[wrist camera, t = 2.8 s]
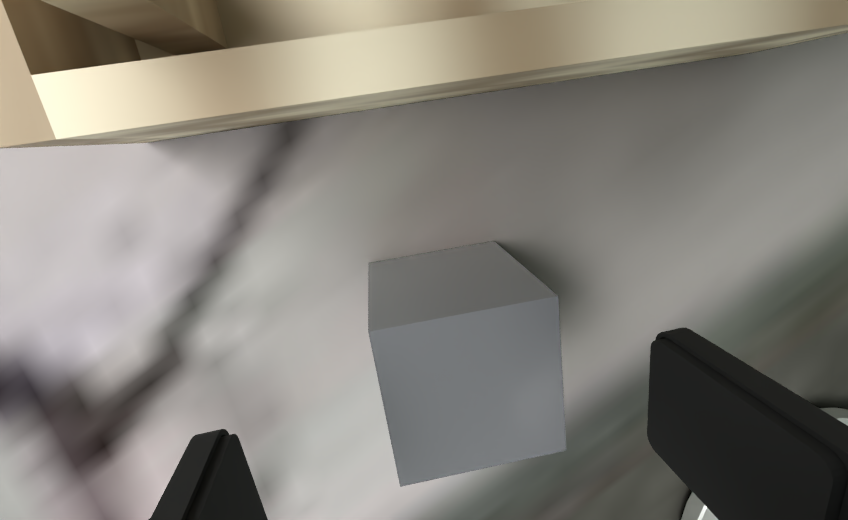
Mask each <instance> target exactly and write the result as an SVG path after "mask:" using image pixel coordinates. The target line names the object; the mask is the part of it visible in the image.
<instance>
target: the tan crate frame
mask: <svg viewBox="0 0 848 520" xmlns="http://www.w3.org/2000/svg"><path fill="white" fill-rule="evenodd" d="M843 33H848V0H0V148H21V147H48V146H74V145H100V144H127V143H147V142H154V141H161V140H168V139H174V138H181V137H188V136H195V135H201V134H208V133H215V132H222V131H228V130H235V129H242V128H249V127H255V126H262V125H269V124H276V123H282V122H289V121H296V120H303V119H309V118H316V117H323V116H330V115H336V114H343V113H350V112H356V111H363V110H370V109H377V108H383V107H390V106H397V105H404V104H410V103H417V102H424V101H431V100H437V99H444V98H451V97H458V96H464V95H471V94H478V93H485V92H491V91H498V90H505V89H512V88H518V87H525V86H532V85H539V84H545V83H552V82H559V81H566V80H572V79H579V78H586V77H592V76H599V75H606V74H613V73H619V72H626V71H633V70H640V69H646V68H653V67H660V66H667V65H673V64H680V63H687V62H694V61H700V60H707V59H714V58H721V57H727V56H734V55H741V54H748V53H754V52H758V51H763V50H768V49H772V48H777V47H782V46H787V45H791V44H796V43H801V42H805V41H810V40H815V39H819V38H824V37H829V36H834V35H838V34H843Z"/></svg>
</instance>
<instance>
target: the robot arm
mask: <svg viewBox="0 0 848 520" xmlns="http://www.w3.org/2000/svg"><path fill="white" fill-rule="evenodd" d="M647 436H648V440H649V442H650V444H651V446H652V448H653V449H654V450H655V452H656V453H657V454H658V455H659V456H660V457H661V458H662V459H663V460H664V461H665V462H666V464H667V465H668V466H669V467H670V468H671V469H672V470H673V471H674V472H675V473H676V474H677V475H678V477H679V478H680V479H681V480H682V481H683V482H684V483H685V484H686V485H687V486H688V487H689V488H690V490H691V491H692V493H691V495H690V497H689V499H688V501H687V503H686V506H685V509H684V512H683V515H682V518H681V520H848V409H841V408H818V407H816V406H815V405H813V404H811V403H810V402H808V401H806V400H805V399H803V398H801V397H800V396H798V395H797V394H795V393H793V392H792V391H790V390H788V389H787V388H785V387H783V386H782V385H780V384H779V383H777V382H775V381H774V380H772V379H770V378H769V377H767V376H765V375H764V374H762V373H760V372H759V371H757V370H756V369H754V368H752V367H751V366H749V365H747V364H746V363H744V362H742V361H741V360H739V359H738V358H736V357H734V356H733V355H731V354H729V353H728V352H726V351H724V350H723V349H721V348H719V347H718V346H716V345H715V344H713V343H711V342H710V341H708V340H706V339H705V338H703V337H701V336H700V335H698V334H697V333H695V332H693V331H692V330H690V329H687V328H679V329H674V330H670V331H665V332H661V333H659V334H658V335H657V337H656V340H655V341H653V342H652V344H651V354H650V378H649V402H648V426H647ZM149 520H268V519H267V516H266V514H265V511H264V508H263V505H262V502H261V500H260V497H259V494H258V491H257V489H256V486H255V483H254V480H253V477H252V475H251V472H250V469H249V466H248V463H247V461H246V458H245V455H244V452H243V449H242V447H241V444H240V441H239V438H238V436H237V435H236V434H232V435H229V433H228V432H227V431H226V430H225V429H221V430H216V431H212V432H207V433H203V434H198V435H195V436H193V438H192V439H191V440H190V442H189V444H188V446H187V448H186V450H185V452H184V454H183V456H182V458H181V460H180V462H179V464H178V466H177V468H176V470H175V472H174V474H173V476H172V478H171V480H170V482H169V483H168V485H167V487H166V489H165V491H164V493H163V495H162V497H161V499H160V501H159V503H158V505H157V507H156V509H155V511H154V513H153V515H152V517H151V518H150V519H149Z"/></svg>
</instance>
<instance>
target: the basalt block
mask: <svg viewBox="0 0 848 520" xmlns="http://www.w3.org/2000/svg"><path fill="white" fill-rule="evenodd" d="M368 332H369V337H370V342H371V347H372V352H373V356H374V361H375V366H376V371H377V376H378V381H379V386H380V390H381V395H382V400H383V405H384V410H385V415H386V420H387V424H388V429H389V434H390V439H391V444H392V449H393V454H394V458H395V463H396V468H397V473H398V478H399V483H400V487H401V486H405V485H410V484H415V483H419V482H424V481H428V480H433V479H437V478H442V477H447V476H451V475H456V474H460V473H465V472H469V471H474V470H479V469H483V468H488V467H492V466H497V465H501V464H506V463H511V462H515V461H520V460H524V459H529V458H533V457H538V456H543V455H547V454H552V453H556V452H561V451H565V450H566V434H565V415H564V396H563V377H562V357H561V338H560V319H559V300H558V295H557V294H555V293H554V292H553V291H552V290H551V289H550V288H548V287H547V286H546V285H545V284H544V283H543V282H541V281H540V280H539V279H538V278H537V277H536V276H534V275H533V274H532V273H531V272H530V271H529V270H527V269H526V268H525V267H524V266H523V265H521V264H520V263H519V262H518V261H517V260H516V259H514V258H513V257H512V256H511V255H510V254H509V253H507V252H506V251H505V250H504V249H503V248H502V247H500V246H499V245H498V244H497V243H496V242H494V241H491V242H485V243H479V244H474V245H468V246H462V247H457V248H451V249H445V250H440V251H434V252H428V253H423V254H417V255H411V256H406V257H400V258H394V259H389V260H383V261H377V262H371V263H369V292H368Z"/></svg>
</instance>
